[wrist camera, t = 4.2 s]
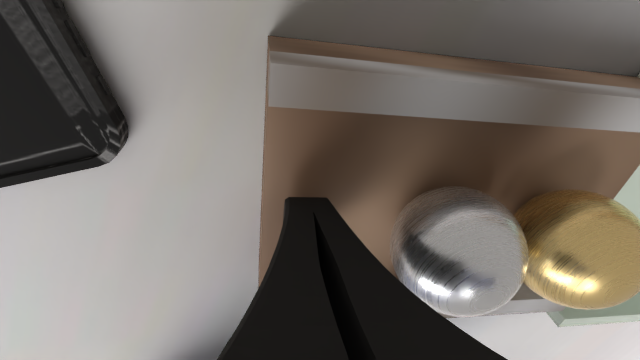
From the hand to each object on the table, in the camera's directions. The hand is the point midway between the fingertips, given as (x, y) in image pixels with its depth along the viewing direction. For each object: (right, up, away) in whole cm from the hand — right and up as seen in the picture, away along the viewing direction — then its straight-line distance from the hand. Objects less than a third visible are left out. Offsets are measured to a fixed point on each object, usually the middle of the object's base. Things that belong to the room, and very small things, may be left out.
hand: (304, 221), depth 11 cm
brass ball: (+9, -1, +1) cm, 9 cm away
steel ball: (+5, -1, 0) cm, 5 cm away
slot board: (+5, +1, +3) cm, 6 cm away
